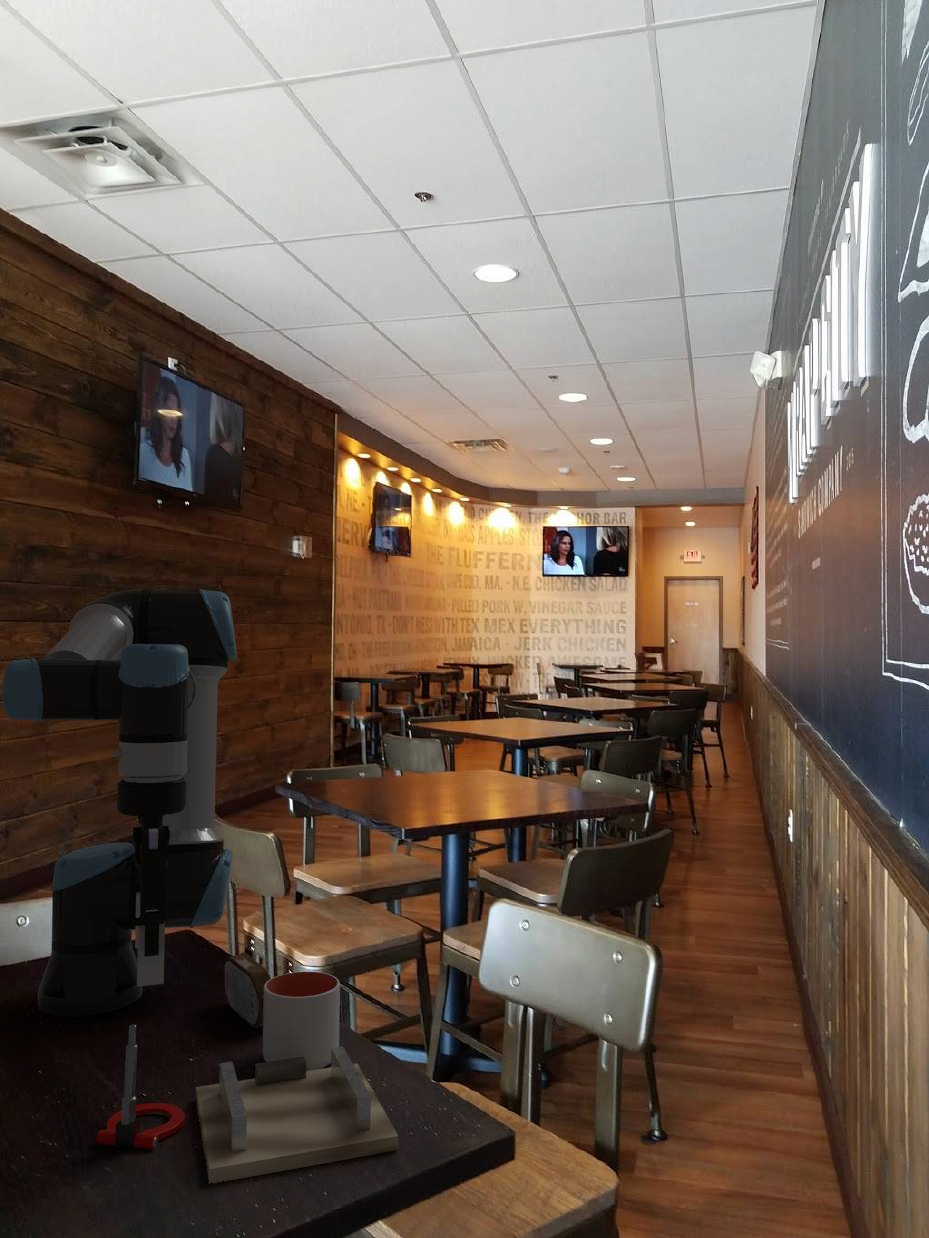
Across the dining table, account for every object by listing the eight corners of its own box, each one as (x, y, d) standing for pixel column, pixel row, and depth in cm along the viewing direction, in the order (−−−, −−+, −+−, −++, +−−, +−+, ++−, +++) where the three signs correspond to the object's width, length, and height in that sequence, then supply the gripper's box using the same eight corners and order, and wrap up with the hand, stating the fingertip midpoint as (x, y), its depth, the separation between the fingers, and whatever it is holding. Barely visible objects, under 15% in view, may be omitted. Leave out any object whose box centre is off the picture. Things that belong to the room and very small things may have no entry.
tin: (277, 1033, 133) (278, 973, 133) (256, 1038, 131) (257, 977, 131) (239, 1000, 145) (240, 945, 146) (219, 1004, 144) (220, 948, 144)
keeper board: (195, 1099, 113) (195, 1086, 113) (357, 1075, 120) (357, 1063, 120) (209, 1184, 95) (209, 1169, 95) (398, 1149, 102) (398, 1135, 102)
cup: (272, 1043, 129) (273, 970, 130) (344, 1044, 129) (345, 971, 129) (254, 1076, 119) (255, 996, 120) (331, 1077, 119) (332, 998, 119)
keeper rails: (217, 1085, 113) (217, 1056, 114) (339, 1067, 119) (339, 1039, 119) (231, 1152, 98) (232, 1118, 98) (370, 1128, 103) (370, 1096, 104)
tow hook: (130, 1110, 111) (87, 1146, 102) (135, 998, 112) (93, 1025, 103) (196, 1116, 110) (159, 1154, 101) (201, 1003, 111) (165, 1030, 102)
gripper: (117, 766, 118) (114, 935, 117) (117, 794, 95) (112, 1007, 94) (179, 764, 121) (176, 930, 120) (194, 791, 97) (190, 998, 96)
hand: (148, 964), depth 107 cm, fingers open, 13 cm apart
